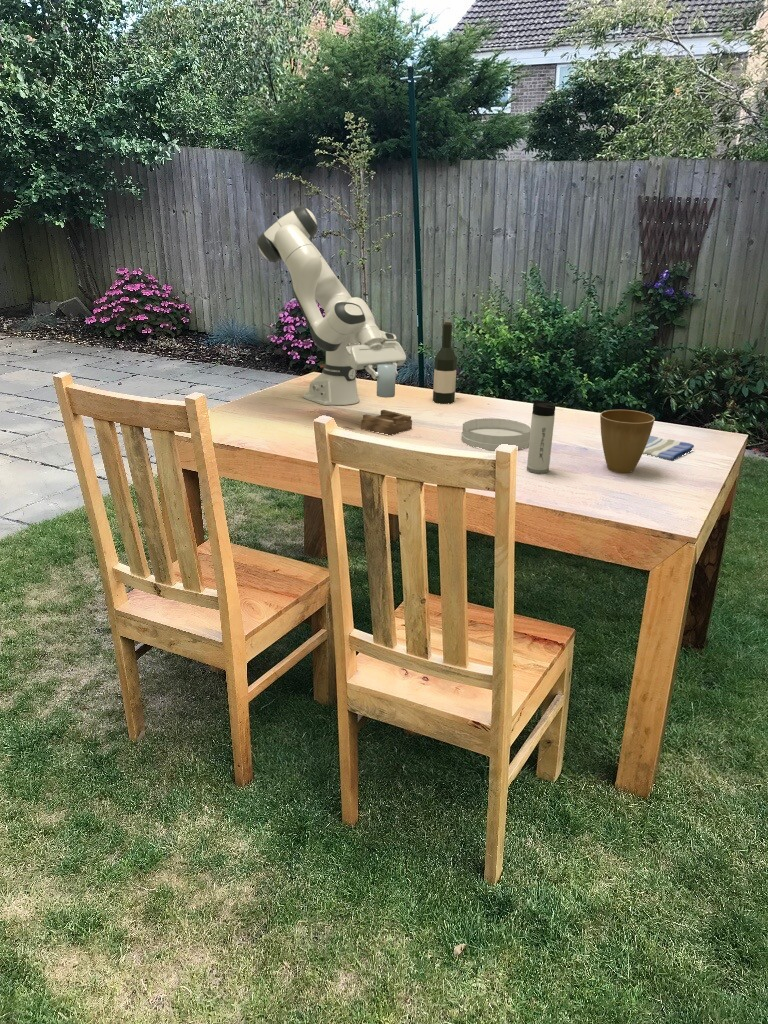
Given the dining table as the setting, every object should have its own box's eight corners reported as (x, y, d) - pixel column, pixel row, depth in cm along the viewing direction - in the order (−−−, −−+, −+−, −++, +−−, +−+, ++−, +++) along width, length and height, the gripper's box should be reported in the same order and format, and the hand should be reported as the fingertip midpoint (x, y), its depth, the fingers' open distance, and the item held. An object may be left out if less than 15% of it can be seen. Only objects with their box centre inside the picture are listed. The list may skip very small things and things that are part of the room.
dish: (533, 436, 259) (534, 421, 258) (527, 454, 239) (528, 439, 238) (466, 430, 264) (467, 415, 263) (455, 448, 245) (456, 432, 243)
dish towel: (627, 436, 263) (628, 428, 262) (695, 452, 248) (697, 443, 247) (601, 446, 251) (602, 437, 250) (671, 463, 236) (672, 454, 235)
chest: (361, 429, 261) (361, 414, 259) (384, 422, 270) (384, 408, 268) (388, 436, 254) (389, 421, 252) (411, 429, 263) (412, 414, 261)
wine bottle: (454, 399, 304) (459, 321, 293) (454, 404, 297) (458, 324, 286) (433, 398, 305) (436, 320, 294) (432, 403, 297) (436, 323, 286)
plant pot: (606, 458, 237) (613, 406, 232) (654, 469, 229) (662, 415, 223) (584, 469, 227) (591, 415, 221) (634, 481, 218) (642, 425, 212)
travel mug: (532, 465, 229) (539, 398, 222) (552, 470, 225) (560, 402, 218) (521, 470, 224) (528, 401, 217) (542, 475, 221) (549, 405, 213)
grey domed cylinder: (372, 395, 257) (373, 364, 254) (384, 392, 261) (385, 362, 258) (386, 398, 254) (387, 367, 250) (398, 395, 258) (399, 365, 254)
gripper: (347, 338, 251) (363, 374, 247) (399, 334, 262) (415, 368, 258) (339, 349, 256) (355, 385, 252) (391, 345, 267) (406, 379, 263)
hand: (386, 376), depth 255 cm, fingers closed on grey domed cylinder, 6 cm apart
